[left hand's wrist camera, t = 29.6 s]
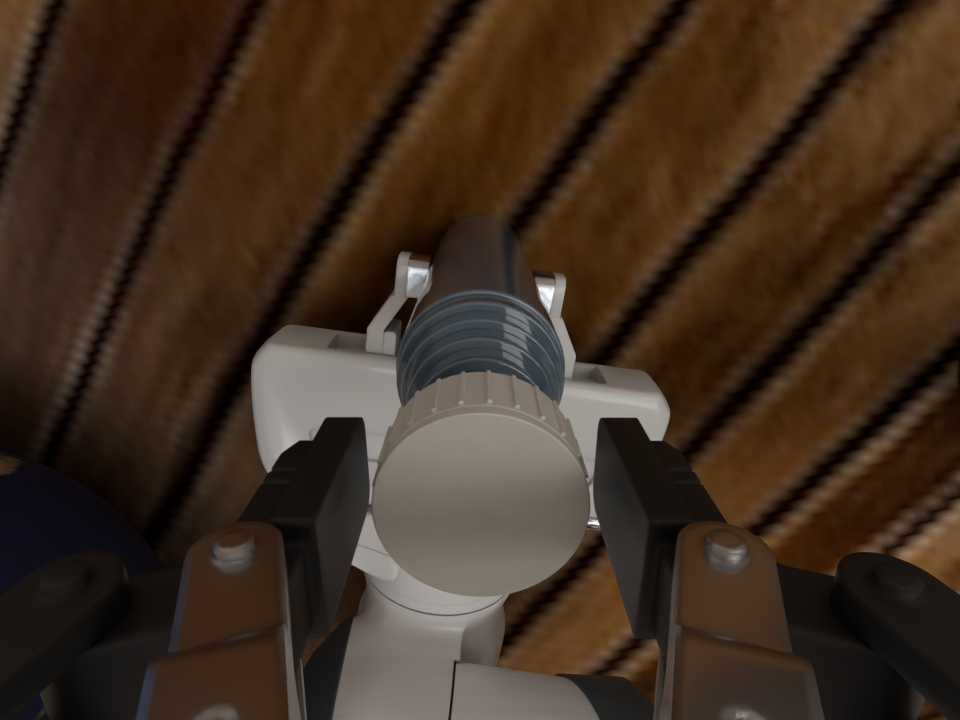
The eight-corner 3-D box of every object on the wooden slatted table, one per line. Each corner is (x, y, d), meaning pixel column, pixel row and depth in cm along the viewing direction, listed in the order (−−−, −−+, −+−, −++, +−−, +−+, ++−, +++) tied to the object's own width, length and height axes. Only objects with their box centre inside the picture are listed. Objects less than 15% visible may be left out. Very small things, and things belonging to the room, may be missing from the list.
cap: (349, 413, 12) (325, 463, 10) (532, 336, 11) (543, 373, 9) (436, 559, 13) (428, 626, 11) (604, 497, 12) (625, 557, 11)
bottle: (434, 215, 31) (339, 371, 10) (522, 213, 31) (614, 364, 10) (439, 301, 33) (367, 587, 12) (523, 299, 33) (601, 582, 12)
